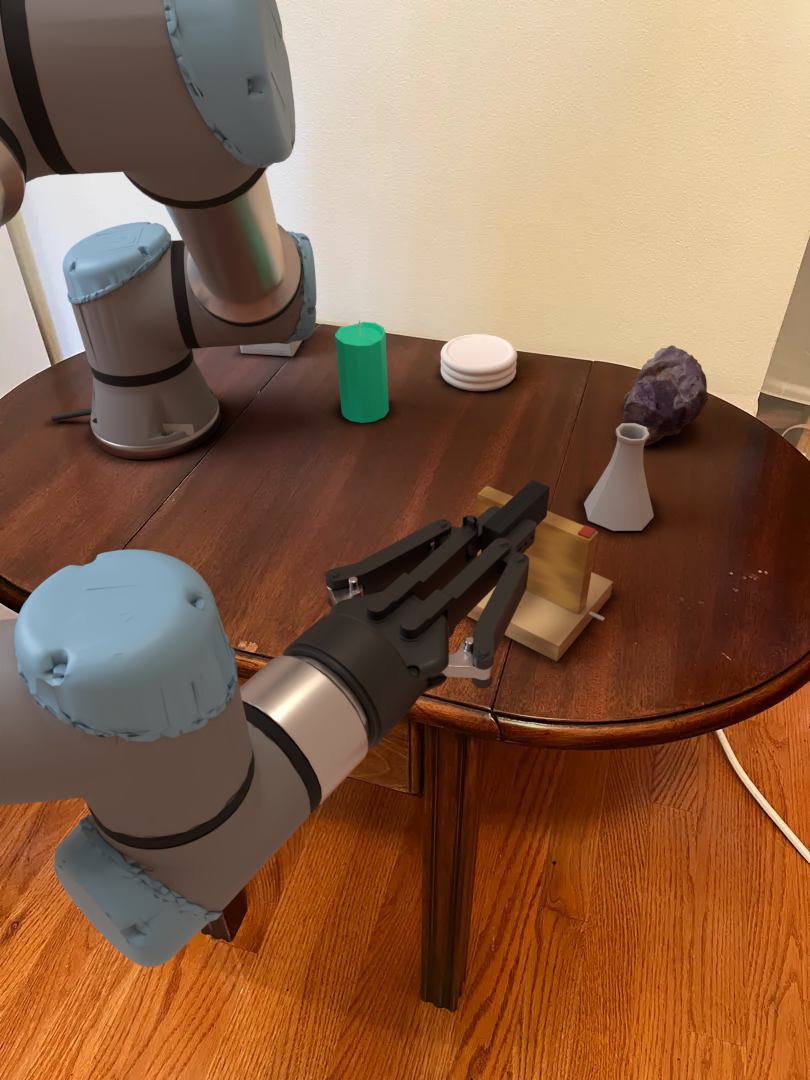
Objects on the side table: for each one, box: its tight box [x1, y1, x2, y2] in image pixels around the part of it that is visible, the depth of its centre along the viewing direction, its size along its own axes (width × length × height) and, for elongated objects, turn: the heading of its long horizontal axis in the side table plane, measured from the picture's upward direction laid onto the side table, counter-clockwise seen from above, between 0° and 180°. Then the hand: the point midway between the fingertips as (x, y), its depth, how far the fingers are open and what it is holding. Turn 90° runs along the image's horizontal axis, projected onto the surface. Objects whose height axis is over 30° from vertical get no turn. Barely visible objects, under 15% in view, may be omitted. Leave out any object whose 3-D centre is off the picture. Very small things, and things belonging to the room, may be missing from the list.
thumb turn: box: [476, 485, 599, 614], centre depth 74 cm, size 11×2×9 cm, turn 53°
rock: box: [621, 344, 709, 446], centre depth 98 cm, size 12×9×10 cm
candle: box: [334, 319, 390, 424], centre depth 101 cm, size 6×6×12 cm
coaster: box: [440, 333, 518, 392], centre depth 110 cm, size 10×10×4 cm
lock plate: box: [466, 571, 614, 662], centre depth 77 cm, size 15×15×2 cm
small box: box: [239, 340, 304, 357], centre depth 118 cm, size 8×8×5 cm
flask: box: [583, 423, 655, 532], centre depth 85 cm, size 7×7×10 cm
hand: (539, 498), depth 61 cm, fingers closed
